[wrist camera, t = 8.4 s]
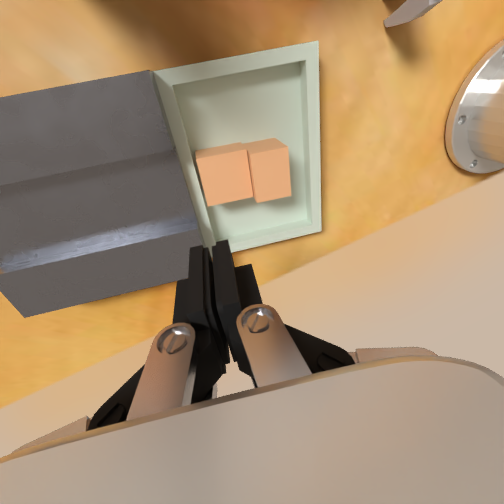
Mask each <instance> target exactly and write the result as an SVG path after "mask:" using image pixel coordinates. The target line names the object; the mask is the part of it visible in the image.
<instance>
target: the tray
mask: <svg viewBox="0 0 504 504" xmlns="http://www.w3.org/2000/svg"><path fill="white" fill-rule="evenodd" d="M153 73H154V76H155V79H156V83H157V86H158V89H159V93H160V96H161V99H162V103H163V106H164V109H165V113H166V116H167V119H168V123H169V126H170V129H171V132H172V136H173V139H174V142H175V146H176V149H177V152H178V156H179V159H180V162H181V166H182V169H183V172H184V176H185V179H186V182H187V186H188V189H189V192H190V196H191V199H192V202H193V206H194V209H195V212H196V216H197V219H198V222H199V225H200V229H201V232H202V235H203V239H204V242H205V245H206V247H208V248H209V251H210V255H211V257H212V246H215V245H216V242H218V241H222V240H227V239H228V241H229V246H230V250H231V253H232V252H236V251H240V250H245V249H249V248H253V247H257V246H261V245H265V244H270V243H274V242H278V241H282V240H286V239H290V238H295V237H299V236H303V235H307V234H311V233H316V232H320V231H321V167H320V102H319V41H313V42H308V43H302V44H297V45H292V46H286V47H281V48H275V49H270V50H265V51H259V52H254V53H248V54H243V55H238V56H232V57H227V58H222V59H216V60H211V61H205V62H200V63H195V64H189V65H184V66H178V67H173V68H168V69H162V70H157V71H153ZM270 138H276V139H278V140H279V141H281V142H282V143H283V144H285V145H286V146H288V151H289V166H290V182H291V196H288V197H283V198H279V199H274V200H269V201H265V202H260V203H257V202H256V200H255V199H254V197H251V198H246V199H242V200H237V201H232V202H227V203H223V204H218V205H213V206H208V205H207V201H206V197H205V193H204V189H203V185H202V181H201V177H200V173H199V169H198V165H197V162H196V154H195V151H196V150H201V149H206V148H212V147H217V146H222V145H227V144H232V143H238V142H241V143H242V144H244V143H249V142H254V141H259V140H265V139H270Z"/></svg>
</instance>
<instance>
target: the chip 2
mask: <svg viewBox="0 0 504 504" xmlns="http://www.w3.org/2000/svg"><path fill="white" fill-rule="evenodd" d="M243 145H244V147H245V148H246V149H247V156H248V163H249V170H250V176H251V183H252V190H253V197H254V199H255V200H256V202H257V203H260V202H265V201H269V200H274V199H279V198H283V197H288V196H291V182H290V166H289V151H288V146H286V145H285V144H283V143H282V142H281V141H279V140H278V139H276V138H270V139H265V140H259V141H254V142H249V143H244V144H243Z"/></svg>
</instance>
